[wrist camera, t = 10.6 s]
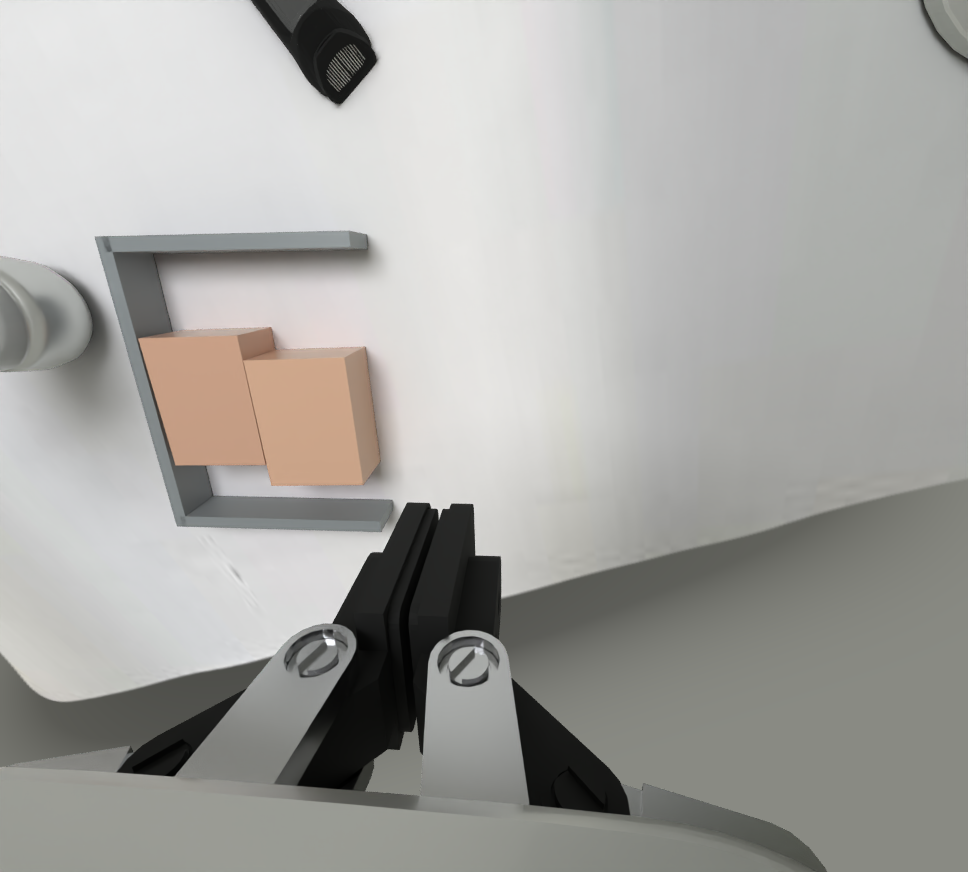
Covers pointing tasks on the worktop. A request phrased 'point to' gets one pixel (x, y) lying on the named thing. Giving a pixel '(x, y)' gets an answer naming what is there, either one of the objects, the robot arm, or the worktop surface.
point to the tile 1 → (207, 393)
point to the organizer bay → (139, 318)
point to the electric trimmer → (322, 42)
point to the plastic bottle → (39, 318)
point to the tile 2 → (315, 415)
